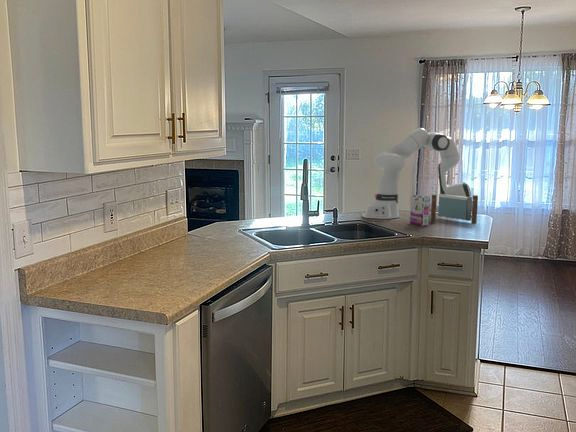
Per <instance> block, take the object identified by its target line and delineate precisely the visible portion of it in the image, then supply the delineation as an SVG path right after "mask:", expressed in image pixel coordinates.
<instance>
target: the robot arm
mask: <svg viewBox="0 0 576 432" xmlns="http://www.w3.org/2000/svg"><path fill="white" fill-rule="evenodd" d="M421 148H422V149H427V150H430V151H435V152H439V155H440V162H439V163H438V167H437V168H438V169H437V170H438V171H437V172H438V181H439V194H446V195H454V196H462V197H472V191H471V188H470V186H469V184H468V183H466V182H465V181H464V182H457V183H452V184H447V177H446V175H447V174H446V173H447V172H448V171H450V170H451V169H453V168H455V167H456V166H458V164H459V161H460V158H461V157H460V153H459V150H458V149H459V148H457V143H456V142H455V140H454V139H453V138H452V137H451V136H447V135H445V134H444V133H439V132H435V131H427V130H426V129H425V128H422V127H418V128H416V129H415V130H413V131H411V132H410V133H408V134H407V135H406V136H404V138H402V139H401V140H400V141H398V142H397V143H396V144H394V145H393V146H391V147H389V148H387V149H386V150H384V151H382V152H381V153H378V154H377V155H376V156H375V157H374V162H373V163H374V166H375V167H376V168H378V170H381V171H383V172H382V176H381V178H380V180H379V181H378V182H379V185H378V193H375V194H374V198H375V200H373V201H372V202H371V203H370V204H368V205H367V207H366V209H365V212H364V213H362V218H365V219H381V220H382V219H383V220H389V219H398V218H400V214H399V208H398V203H399V194H398V186H399V185H398V184H399V179H400V174H401V172H402V170H403V169H404V167H405V165H406V164H405V163H406V162H405V160H406V159H408V158H410V157H412V156H413V155H414V154H415V153H416V152H418V151H419V150H420V149H421ZM472 202H473V200H472ZM471 212H472V207H471Z"/></svg>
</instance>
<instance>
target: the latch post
mask: <svg viewBox="0 0 576 432" xmlns="http://www.w3.org/2000/svg"><path fill="white" fill-rule="evenodd" d="M430 203H431V205H430V207H431V209H430V213H431V214H430V223H431V224H436V218H437V217H436V215H437V214H436V213H437V194H431V202H430Z"/></svg>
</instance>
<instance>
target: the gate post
mask: <svg viewBox="0 0 576 432" xmlns="http://www.w3.org/2000/svg"><path fill="white" fill-rule="evenodd" d="M478 200H479V195H477V194H472V201H473V202H472V211H471V224H474V225H475V224H478V223H477V219H478V206H479V205H478V202H479V201H478Z"/></svg>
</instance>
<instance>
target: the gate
mask: <svg viewBox="0 0 576 432" xmlns="http://www.w3.org/2000/svg"><path fill="white" fill-rule="evenodd" d="M472 201H473V196H471V197H462V196H454V195H446V194H440V193H439V194H438V211H437V215H438V217H445V218H450V219H457V220H463V221H469V222H470V221H472V211H471V207H472Z"/></svg>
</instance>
